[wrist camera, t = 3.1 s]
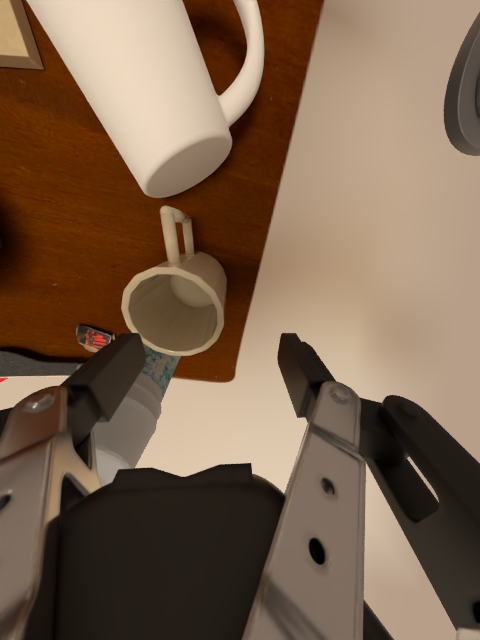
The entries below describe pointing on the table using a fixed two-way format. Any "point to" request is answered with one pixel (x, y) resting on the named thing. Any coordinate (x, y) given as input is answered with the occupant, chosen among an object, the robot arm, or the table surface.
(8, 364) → the hand tool
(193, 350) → the cup
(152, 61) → the mug
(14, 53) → the stand
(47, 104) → the table surface
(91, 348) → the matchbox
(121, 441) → the bottle
